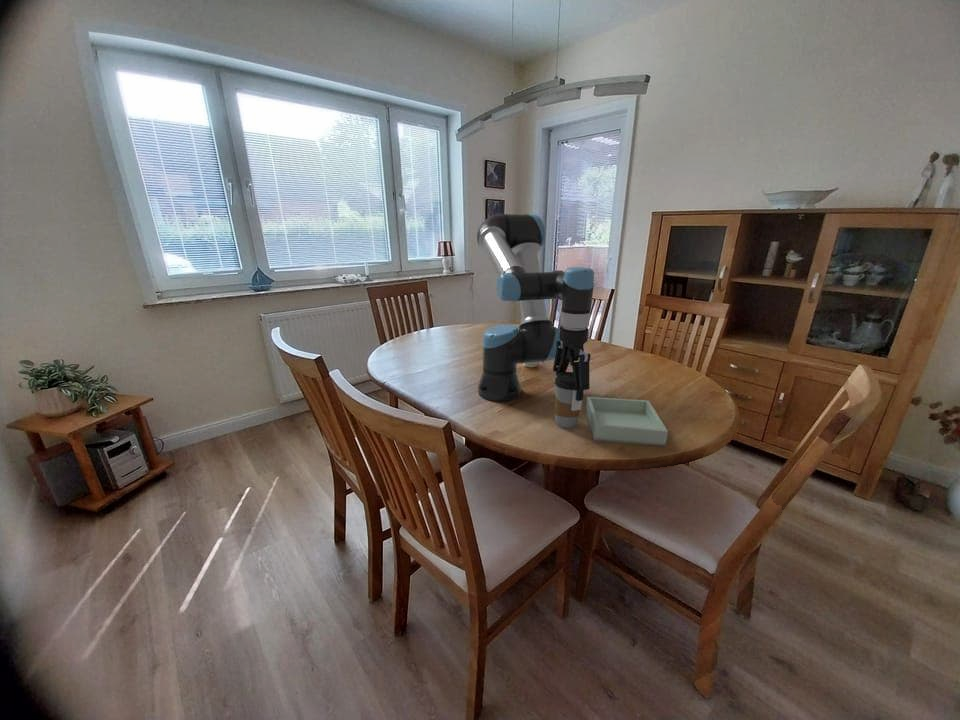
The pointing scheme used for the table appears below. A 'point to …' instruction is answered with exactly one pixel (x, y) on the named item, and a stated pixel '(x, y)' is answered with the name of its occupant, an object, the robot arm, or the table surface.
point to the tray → (625, 421)
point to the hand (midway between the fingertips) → (567, 402)
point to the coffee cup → (565, 400)
